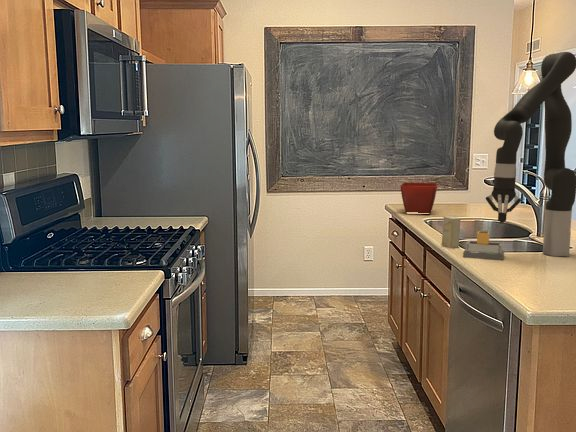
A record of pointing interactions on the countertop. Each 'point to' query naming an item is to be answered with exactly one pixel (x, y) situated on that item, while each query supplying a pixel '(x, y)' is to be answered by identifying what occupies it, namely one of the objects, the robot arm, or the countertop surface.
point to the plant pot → (418, 196)
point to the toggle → (483, 237)
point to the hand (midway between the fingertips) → (501, 222)
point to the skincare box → (451, 231)
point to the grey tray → (484, 250)
